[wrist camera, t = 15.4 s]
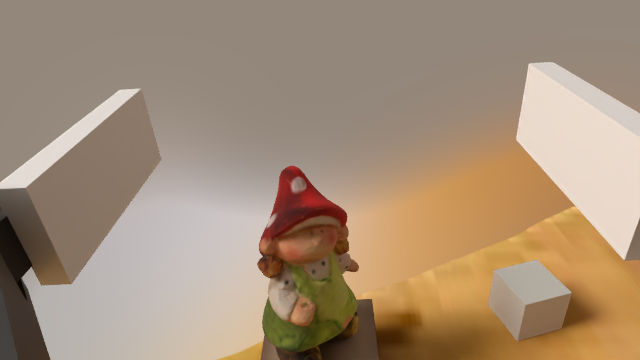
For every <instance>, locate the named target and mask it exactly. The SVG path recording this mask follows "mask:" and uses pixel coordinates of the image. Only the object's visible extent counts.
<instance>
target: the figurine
mask: <svg viewBox="0 0 640 360" xmlns="http://www.w3.org/2000/svg"><path fill="white" fill-rule="evenodd" d="M346 222H347V214H346V212H345V211H344V210H343V209H342V208H340V207H339V206H337V205H336V204H334V203H332V202H331V201H329V200H327V199H326V198H325V197H324V196H323V195H322V194H321V193H320V192H319V191H318V190H317V189H316V188H315V187H314V186H313V185H312V184H311V183H310V182H309V180H308V179H307V177H306V176H305V175H304V173H303V172H302V171H301V170H300V169H299V168H297V167H295V166H289V167H287V168H285V169H284V170H283V171H282V172H281V174H280V177H279V188H278V193H277V197H276V201H275V204H274V208H273V211H272V214H271V217H270V220H269V222H268V224H267V227H266V228H265V230H264V232H263V235H262V237H261V240H260V243H259V251H260V253H261V254H262V256H263V257H262V258H261V259H260V260H259V262H258V267H259V269H260V270H261V271H262V273H263V274H264V275H265V276H266V277H268V278H270V283H269V290H268V291H269V292H268V295H269V296H268V299H267V303H266V306H265V309H264V315H263V321H262V324H263V330H264V334H265V336H266V337H267V339H268V341H269V342H270V343H271V344H273V345H274V346H275V348H276V351H277V355H278V357H279V359H280V360H322V357H321V353H320V349H319V346H318V345H319V344H321V343H323V342H340V341H344V340H347V339H349V338H351V337H352V336H353V335H354V334H355V333H356V332H357V329H358V320H359V316H358V314H357V312H356V309H357V301H356V298H355V296H354V294H353V292H352V291H351V289H350V288H349V287H348V285H347V284H346V282H345V281H344V278H343V276H342V274H343V273H344V272H345V271H351V272H356V271H358V268H359V266H358V264H357V263H356V262H355V261H354V260H352V259H351V258H350V255H349V254H348V253H347V252H348V251H349V242H348V241H347V237H348V228H347V226H346Z"/></svg>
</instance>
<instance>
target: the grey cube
mask: <svg viewBox="0 0 640 360" xmlns="http://www.w3.org/2000/svg"><path fill="white" fill-rule="evenodd" d="M571 295H572V292H571V291H570V290H569V289H568V288H567V287H565V286H564V285H563V284H562V283H561V282H560V281H559V280H558V279H557V278H556V277H555V276H554V275H553V274H551V273H550V272H549V271H548V270H547V269H546V268H545V267H544V266H543V265H542V264H541V263H540V262H539V261H538V260H534V261H530V262H526V263H522V264H517V265H513V266H509V267H505V268H501V269H497V270H494V273H493V279H492V285H491V291H490V297H489V302H488V306H489V307H490V308H491V309H492V311H493V312H494V313H495V314H496V315H497V317H498V318H499V319H500V320H501V322H502V323H503V324H504V325H505V327H506V328H507V329H508V330H509V332H510V333H511V334H512V335H513V337H514V338H515V339H516V340H517V341H520V340H524V339H527V338H531V337H534V336H538V335H541V334H545V333H548V332H552V331H555V330H559V329H561V328H562V325H563V322H564V318H565V315H566V311H567V308H568V305H569V301H570V298H571Z"/></svg>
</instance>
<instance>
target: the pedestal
mask: <svg viewBox="0 0 640 360" xmlns="http://www.w3.org/2000/svg"><path fill="white" fill-rule="evenodd" d="M356 301H357V309H356V312H357V314H358V316H359V320H358V329H357V332H356V333H355V334H354V335H353V336H352V337H351V338H349V339H347V340H344V341H340V342H323V343H321V344H319V345H318V346H319V349H320V353H321V357H322V360H379V354H378V346H377V338H376V329H375V321H374V313H373V304H372V299H363V300H356ZM261 360H280V359H279V357H278V355H277V351H276V348H275V346H274V345H273V344H271V343H270V342H269V341H268V339H267V337H266V336H264V342H263V349H262V355H261Z"/></svg>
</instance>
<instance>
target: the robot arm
mask: <svg viewBox="0 0 640 360" xmlns="http://www.w3.org/2000/svg"><path fill="white" fill-rule="evenodd" d="M516 140H517V141H518V142H519V143H520V144H521V145H522V147H523V148H524V149H525V150H526V151H527V152H528V153H529V154H530V155H531V157H532V158H533V159H534V160H535V161H536V162H537V163H538V164H539V166H540V167H541V168H542V169H543V170H544V171H545V172H546V173H547V175H548V176H549V177H550V178H551V179H552V180H553V181H554V182H555V183H556V185H557V186H558V187H559V188H560V189H561V190H562V191H563V192H564V194H566V196H567V197H568V198H569V199H570V200H571V201H572V202H573V204H574V205H575V206H576V207H577V208H578V209H579V210H580V211H581V213H582V214H583V215H584V216H585V217H586V218H587V219H588V220H589V221H590V223H591V224H592V225H593V226H594V227H595V228H596V229H597V230H598V232H599V233H600V234H601V235H602V236H603V237H604V238H605V239H606V240H607V242H608V243H609V244H610V245H611V246H612V247H613V248H614V249H615V251H616V252H617V253H618V254H619V255H620V256H621V257H622V258H623V259H624V260H640V113H638V112H636V111H635V110H633V109H631V108H629V107H628V106H626V105H624V104H623V103H621V102H619V101H618V100H616V99H614V98H612V97H611V96H609V95H607V94H606V93H604V92H602V91H601V90H599V89H597V88H596V87H594V86H592V85H591V84H589V83H587V82H585V81H584V80H582V79H580V78H579V77H577V76H575V75H574V74H572V73H570V72H569V71H567V70H565V69H564V68H562V67H560V66H558V65H557V64H555V63H553V62H546V63H532V64H531V63H530V64H529V67H528V73H527V79H526V84H525V91H524V96H523V102H522V109H521V114H520V120H519V126H518V131H517V137H516ZM160 161H161V157H160V153H159V150H158V146H157V143H156V139H155V136H154V132H153V128H152V125H151V121H150V118H149V114H148V111H147V107H146V104H145V100H144V97H143V93H142V90H141V89H129V90H119V91H118V92H116V93H115V94H114V95H113V96H111V97H110V98H109V99H108V100H106V101H105V102H104V103H102V104H101V105H100V106H98V107H97V108H96V109H94V110H93V111H92V112H91V113H90V114H88V115H87V116H86V117H84V118H83V119H82V120H80V121H79V122H78V123H77V124H75V125H74V126H73V127H71V128H70V129H69V130H67V131H66V132H65V133H63V134H62V135H61V136H60V137H58V138H57V139H56V140H54V141H53V142H52V143H51V144H49V145H48V146H47V147H45V148H44V149H43V150H42V151H40V152H39V153H38V154H36V155H35V156H34V157H33V158H31V159H30V160H29V161H27V162H26V163H25V164H23V166H21V167H20V168H18V169H17V170H16V171H14V172H13V173H12V174H11V175H9V176H8V177H7V178H5V179H4V180H3V181H2V182H0V360H50V357H49V354H48V351H47V348H46V345H45V342H44V339H43V336H42V332H41V329H40V326H39V323H38V320H37V317H36V314H35V310H34V307H33V304H32V301H31V298H30V295H29V292H28V289H27V287H26V285H25V284H24V282H23V280H22V277H23V275H24V274H25V273H26V272H27V271H28V270H29V269H30V267H32V269H33V270H34V272H35V274H36V276H37V278H38V280H39V282H40V284H41V285H59V284H72V283H73V281H74V280H75V278H76V277H77V276H78V274H79V273H80V272H81V270H82V269H83V267H84V266H85V265H86V263H87V262H88V260H89V259H90V258H91V256H92V254H93V253H94V252H95V251H96V249H97V248H98V247H99V245H100V244H101V242H102V241H103V240H104V238H105V237H106V236H107V234H108V233H109V231H110V230H111V228H112V227H113V226H114V224H115V223H116V222H117V220H118V219H119V217H120V216H121V215H122V213H123V212H124V211H125V209H126V208H127V206H128V205H129V204H130V202H131V201H132V199H133V198H134V197H135V195H136V194H137V192H138V191H139V190H140V188H141V187H142V186H143V184H144V183H145V181H146V180H147V179H148V177H149V176H150V174H151V173H152V172H153V170H154V169H155V168H156V166H157V165H158V163H159V162H160Z"/></svg>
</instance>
